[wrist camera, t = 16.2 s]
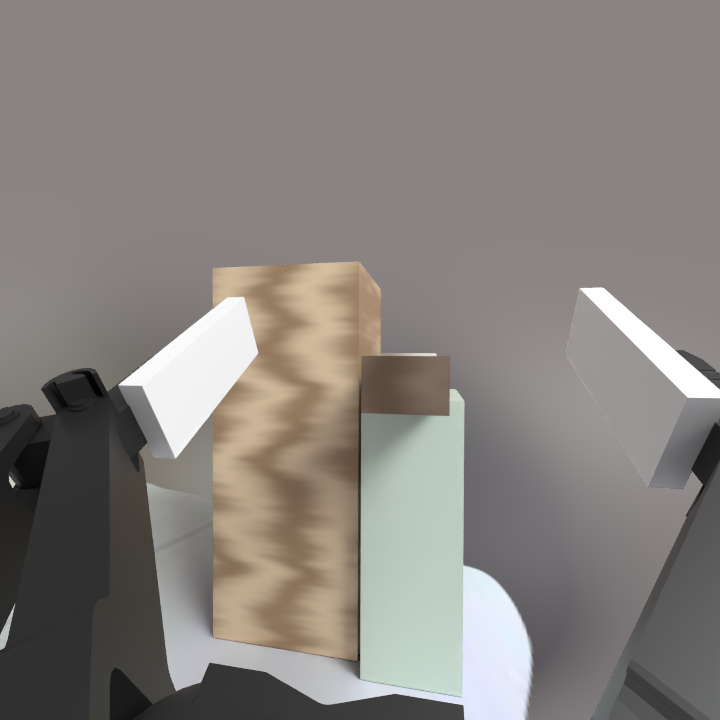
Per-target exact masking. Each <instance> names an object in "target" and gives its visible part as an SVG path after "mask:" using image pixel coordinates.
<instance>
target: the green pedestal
mask: <svg viewBox="0 0 720 720" xmlns="http://www.w3.org/2000/svg"><path fill="white" fill-rule="evenodd" d="M463 498H464V400H463V399H462V397H461V396H460V394H459V393H458V392H457V390H456V389H450V416H431V415H403V414H374V413H361V604H360V680H366V681H372V682H378V683H383V684H389V685H395V686H401V687H406V688H412V689H418V690H424V691H429V692H435V693H441V694H447V695H452V696H458V697H462V638H463V504H464V502H463V501H464V500H463Z"/></svg>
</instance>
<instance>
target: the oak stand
mask: <svg viewBox="0 0 720 720" xmlns="http://www.w3.org/2000/svg"><path fill="white" fill-rule="evenodd" d="M227 297H244V299H245V303H246V307H247V311H248V315H249V319H250V323H251V326H252V330H253V334H254V338H255V342H256V346H257V350H258V354H257V356H256V357H255V358H254V360H253V361H252V362H251V363H250V365H249V366H248V367H247V368H246V370H245V371H244V372H243V374H242V375H241V376H240V377H239V379H238V380H237V381H236V382H235V384H234V385H233V386H232V388H231V389H230V390H229V391H228V393H227V394H226V395H225V396H224V398H223V399H222V400H221V402H220V403H219V404H218V405H217V407H216V408H215V409H214V410H213V638H219V639H225V640H231V641H238V642H244V643H250V644H256V645H262V646H268V647H274V648H280V649H286V650H292V651H298V652H304V653H310V654H317V655H323V656H329V657H335V658H341V659H347V660H353V661H358V657H359V653H360V604H361V358H362V356H381V289H380V288H379V287H378V286H377V284H376V283H375V282H374V280H373V279H372V278H371V276H370V275H369V274H368V273H367V271H366V270H365V269H364V268H363V266H362V265H361V263H360V262H340V263H320V264H318V263H317V264H295V265H274V266H251V267H230V268H213V309H214V308H215V307H216V306H217V305H219V304H220V303H221V302H222V301H224V300H225V299H226V298H227Z"/></svg>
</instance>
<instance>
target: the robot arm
mask: <svg viewBox="0 0 720 720" xmlns="http://www.w3.org/2000/svg"><path fill="white" fill-rule="evenodd" d="M257 354H258V350H257V346H256V342H255V338H254V334H253V330H252V326H251V323H250V319H249V315H248V311H247V307H246V303H245V299H244V297H227V298H226V299H225V300H224V301H222V302H221V303H220V304H219V305H217V306H216V307H215V308H214V309H212V310H211V311H210V312H209V313H207V314H206V315H205V316H204V317H202V318H201V319H200V320H199V321H197V322H196V323H195V324H194V325H192V326H191V327H190V328H189V329H187V330H186V331H185V332H184V333H182V334H181V335H180V336H179V337H178V338H176V339H175V340H174V341H172V342H171V343H170V344H169V345H167V346H166V347H165V348H164V349H162V350H161V351H160V352H159V353H157V354H156V355H155V356H153V357H151V358H150V359H148V360H147V361H146V362H144V363H143V364H142V365H141V367H138V368H137V369H136V370H134V371H133V373H132V374H129V375H128V376H127V377H126V378H124V379H123V380H122V381H121V382H119V383H118V384H117V385H116V386H114V387H113V388H112V389H111V390H109V391H108V392H107V391H106V389H105V387H104V385H103V383H102V381H101V379H100V377H99V376H98V374H97V372H96V370H95V369H91V368H82V369H77V370H73V371H69V372H67V373H64V374H61V375H59V376H57V377H55V378H53V379H51V380H50V381H49V382H47V383H46V384H45V385H44V386H43V387H42V389H41V390H42V391H43V393H44V395H45V396H46V398H47V399H48V401H49V402H50V404H51V405H52V407H53V409H54V410H55V412H56V415H50V416H44V417H39V416H38V415H37V413H36V412H35V410H34V409H33V407H32V406H31V405H27V404H22V405H15V406H12V407H6V408H2V409H0V634H1V632H2V629H3V627H4V625H5V623H6V621H7V619H8V617H9V615H10V613H11V611H12V609H13V606H14V604H15V608H14V613H13V617H12V622H11V627H10V631H9V636H8V640H7V643H6V646H5V648H4V649H2V650H0V720H464V708H463V705H458V704H452V703H446V702H440V701H434V700H428V699H422V698H416V697H410V696H404V695H398V694H392V695H386V696H380V697H374V698H368V699H362V700H356V701H350V702H345V703H339V704H333V705H324V704H320V703H318V702H316V701H315V700H313V699H311V698H310V697H308V696H306V695H304V694H303V693H301V692H299V691H297V690H296V689H294V688H292V687H291V686H289V685H287V684H285V683H284V682H282V681H280V680H278V679H277V678H275V677H273V676H272V675H270V674H268V673H266V672H262V671H256V670H250V669H244V668H238V667H232V666H226V665H220V664H214V663H209V665H208V668H207V670H206V672H205V675H204V677H203V680H202V682H201V683H198V684H195V685H192V686H189V687H186V688H183V689H181V690H178V691H176V690H175V688H174V685H173V682H172V680H171V677H170V673H169V670H168V664H167V657H166V648H165V640H164V631H163V623H162V614H161V606H160V597H159V589H158V580H157V572H156V563H155V555H154V546H153V538H152V529H151V521H150V512H149V504H148V495H147V487H146V479H145V470H144V461H143V459H142V457H141V455H140V453H139V451H140V450H141V449H142V447H143V446H145V444H146V443H147V444H148V446H149V448H150V450H151V452H152V454H153V456H154V457H158V458H174V459H176V458H177V456H178V455H179V454H180V453H181V451H182V450H183V449H184V447H185V446H186V445H187V443H188V442H189V441H190V439H192V437H193V436H194V435H195V433H196V432H197V431H198V430H199V428H200V427H201V426H202V424H203V423H204V422H205V421H206V419H207V418H208V417H209V416H210V414H211V413H212V412H213V410H214V409H215V408H216V407H217V405H218V404H219V403H220V402H221V400H222V399H223V398H224V396H225V395H226V394H227V393H228V391H229V390H230V389H231V388H232V386H233V385H234V384H235V382H236V381H237V380H238V379H239V377H240V376H241V375H242V374H243V372H244V371H245V370H246V368H247V367H248V366H249V365H250V363H251V362H252V361H253V360H254V358H255V357H256V356H257ZM565 355H566V357H567V358H568V360H569V362H570V363H571V364H572V366H573V368H574V370H575V371H576V373H577V374H578V376H579V378H580V379H581V381H582V382H583V384H584V386H585V387H586V389H587V390H588V392H589V394H590V395H591V397H592V398H593V400H594V402H595V403H596V405H597V406H598V408H599V410H600V411H601V413H602V414H603V416H604V418H605V419H606V421H607V423H608V424H609V426H610V427H611V429H612V431H613V432H614V434H615V435H616V437H617V439H618V440H619V442H620V443H621V445H622V446H623V448H624V450H625V451H626V453H627V455H628V456H629V458H630V459H631V461H632V463H633V464H634V466H635V467H636V469H637V471H638V472H639V474H640V476H641V477H642V479H643V480H644V482H645V483H646V485H647V487H654V488H671V489H683V488H684V486H685V484H686V482H687V480H688V478H689V476H690V474H691V473H692V471H693V472H694V474H695V475H696V476H697V477H698V479H699V480H700V481H701V483H702V484H703V486H702V487H701V489H700V491H699V493H698V495H697V496H696V498H695V500H694V502H693V504H692V506H691V508H690V509H689V511H688V513H687V515H686V516H687V518H686V520H685V522H684V524H683V526H682V528H681V531H680V533H679V535H678V537H677V539H676V541H675V543H674V545H673V547H672V550H671V552H670V554H669V556H668V558H667V560H666V562H665V564H664V566H663V569H662V571H661V573H660V575H659V577H658V579H657V581H656V583H655V586H654V588H653V590H652V592H651V594H650V596H649V598H648V600H647V602H646V604H645V607H644V609H643V611H642V613H641V615H640V618H639V619H638V621H637V623H636V626H635V628H634V630H633V632H632V634H631V636H630V638H629V640H628V642H627V645H626V647H625V649H624V651H623V653H622V655H621V657H620V660H619V662H618V664H617V666H616V668H615V670H614V672H613V675H612V676H611V678H610V680H609V683H608V685H607V687H606V689H605V691H604V693H603V695H602V697H601V699H600V702H599V704H598V706H597V708H596V710H595V712H594V714H593V716H592V718H591V720H720V373H718V372H716V370H715V369H714V368H712V367H711V366H710V365H709V364H708V363H706V362H705V361H704V360H702V359H701V358H698V357H696V356H694V355H692V354H690V353H688V352H686V351H684V350H674V349H673V348H671V347H670V346H669V345H668V344H667V343H666V342H664V341H663V340H662V339H661V338H660V337H659V336H658V335H656V334H655V333H654V332H653V331H652V330H651V329H650V328H648V327H647V326H646V325H645V324H644V323H643V322H642V321H640V320H639V319H638V318H637V317H636V316H635V315H633V314H632V313H631V312H630V311H629V310H628V309H627V308H625V307H624V306H623V305H622V304H621V303H620V302H619V301H617V300H616V299H615V298H614V297H613V296H612V295H611V294H609V293H608V292H607V291H606V290H605V289H604V288H580V289H579V293H578V298H577V302H576V307H575V312H574V316H573V320H572V325H571V330H570V334H569V338H568V343H567V347H566V352H565ZM9 476H10V477H11V478H12V480H13V481H14V482H15V483H16V484H15V486H14V488H12V486H11V484H10V482H9ZM15 602H16V603H15Z"/></svg>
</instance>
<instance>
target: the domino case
mask: <svg viewBox="0 0 720 720" xmlns="http://www.w3.org/2000/svg"><path fill="white" fill-rule="evenodd" d="M361 413H374V414H403V415H431V416H450V356H436V353H434V354H433V353H416V354H415V353H381V356H362V358H361Z"/></svg>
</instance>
